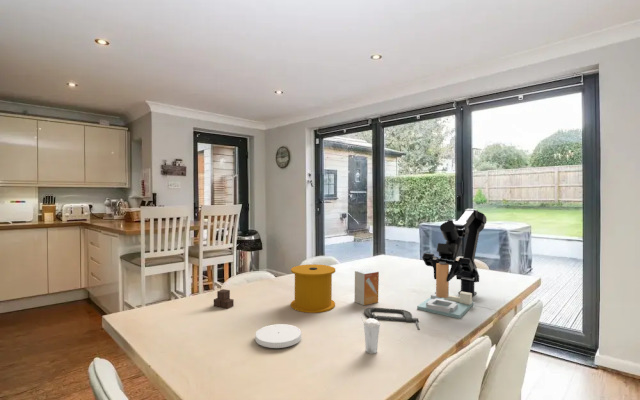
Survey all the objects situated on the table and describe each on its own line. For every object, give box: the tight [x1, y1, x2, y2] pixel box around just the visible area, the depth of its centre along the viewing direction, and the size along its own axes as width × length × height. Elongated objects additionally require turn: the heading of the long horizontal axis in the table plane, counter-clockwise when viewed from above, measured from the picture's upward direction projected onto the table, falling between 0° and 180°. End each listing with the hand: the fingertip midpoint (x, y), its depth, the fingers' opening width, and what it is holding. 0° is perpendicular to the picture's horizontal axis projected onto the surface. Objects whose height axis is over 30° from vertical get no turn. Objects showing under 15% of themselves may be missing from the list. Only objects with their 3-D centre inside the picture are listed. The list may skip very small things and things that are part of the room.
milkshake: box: [361, 316, 381, 355], centre depth 95 cm, size 4×5×10 cm
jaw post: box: [435, 262, 450, 298], centre depth 130 cm, size 5×5×13 cm
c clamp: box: [363, 306, 421, 331], centre depth 122 cm, size 20×17×3 cm
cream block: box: [444, 292, 473, 305], centre depth 137 cm, size 3×10×4 cm, turn 52°
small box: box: [354, 268, 380, 306], centre depth 139 cm, size 8×6×13 cm
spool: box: [290, 263, 336, 314], centre depth 135 cm, size 18×18×15 cm
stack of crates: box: [213, 288, 234, 310], centre depth 134 cm, size 15×15×7 cm
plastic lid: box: [254, 323, 302, 349], centre depth 103 cm, size 14×14×2 cm
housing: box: [416, 291, 474, 319], centre depth 134 cm, size 20×16×3 cm
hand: (441, 279), depth 129 cm, fingers closed on jaw post, 5 cm apart
